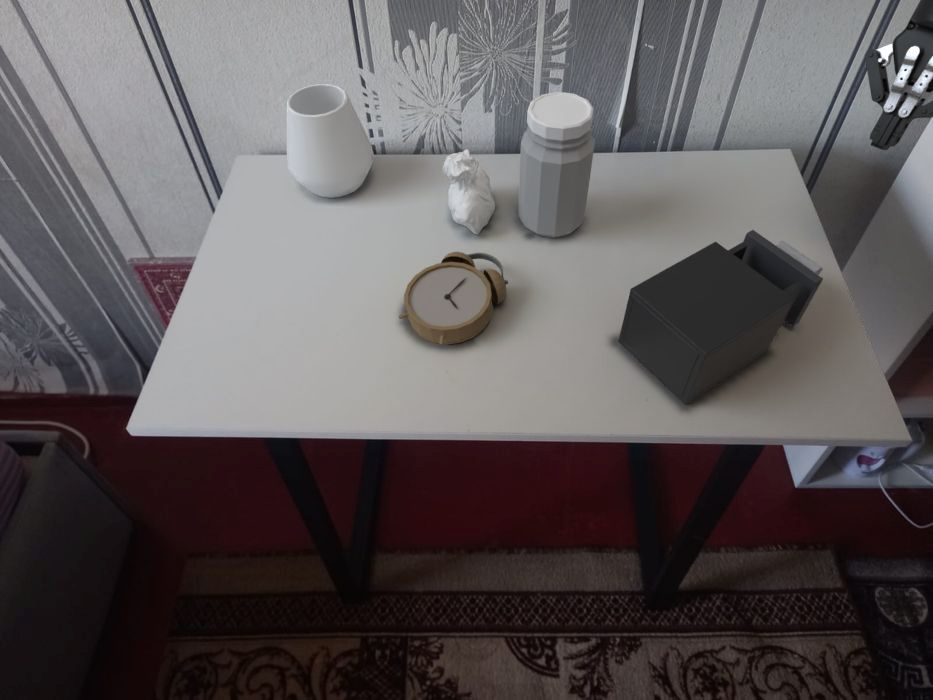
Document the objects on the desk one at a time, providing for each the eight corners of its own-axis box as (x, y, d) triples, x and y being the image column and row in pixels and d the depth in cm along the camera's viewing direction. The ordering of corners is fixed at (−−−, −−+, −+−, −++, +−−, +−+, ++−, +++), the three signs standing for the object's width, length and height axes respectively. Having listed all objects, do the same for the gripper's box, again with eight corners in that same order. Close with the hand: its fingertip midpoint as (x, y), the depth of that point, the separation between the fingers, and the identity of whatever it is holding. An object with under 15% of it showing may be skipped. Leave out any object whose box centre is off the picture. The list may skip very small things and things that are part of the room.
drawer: (757, 261, 88) (776, 216, 82) (821, 307, 83) (847, 263, 77) (665, 314, 83) (679, 270, 77) (728, 368, 78) (748, 325, 71)
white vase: (276, 183, 104) (250, 103, 93) (339, 144, 110) (322, 65, 99) (331, 218, 98) (310, 137, 88) (395, 175, 104) (383, 95, 93)
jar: (588, 240, 93) (604, 129, 79) (519, 242, 94) (524, 132, 80) (580, 197, 99) (594, 86, 85) (516, 198, 100) (520, 89, 86)
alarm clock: (384, 304, 83) (458, 226, 88) (393, 324, 87) (463, 249, 92) (450, 346, 78) (525, 262, 83) (457, 366, 83) (528, 285, 87)
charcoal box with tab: (696, 295, 86) (715, 241, 79) (766, 352, 80) (794, 299, 72) (618, 341, 82) (630, 288, 74) (685, 405, 76) (706, 354, 68)
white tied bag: (476, 200, 103) (429, 149, 97) (515, 179, 99) (468, 124, 93) (463, 253, 96) (411, 200, 90) (504, 232, 91) (452, 176, 85)
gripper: (1051, 4, 66) (946, 168, 75) (919, -24, 74) (838, 129, 83) (1037, -8, 61) (926, 169, 71) (897, -37, 69) (813, 127, 78)
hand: (878, 147), depth 77 cm, fingers closed
